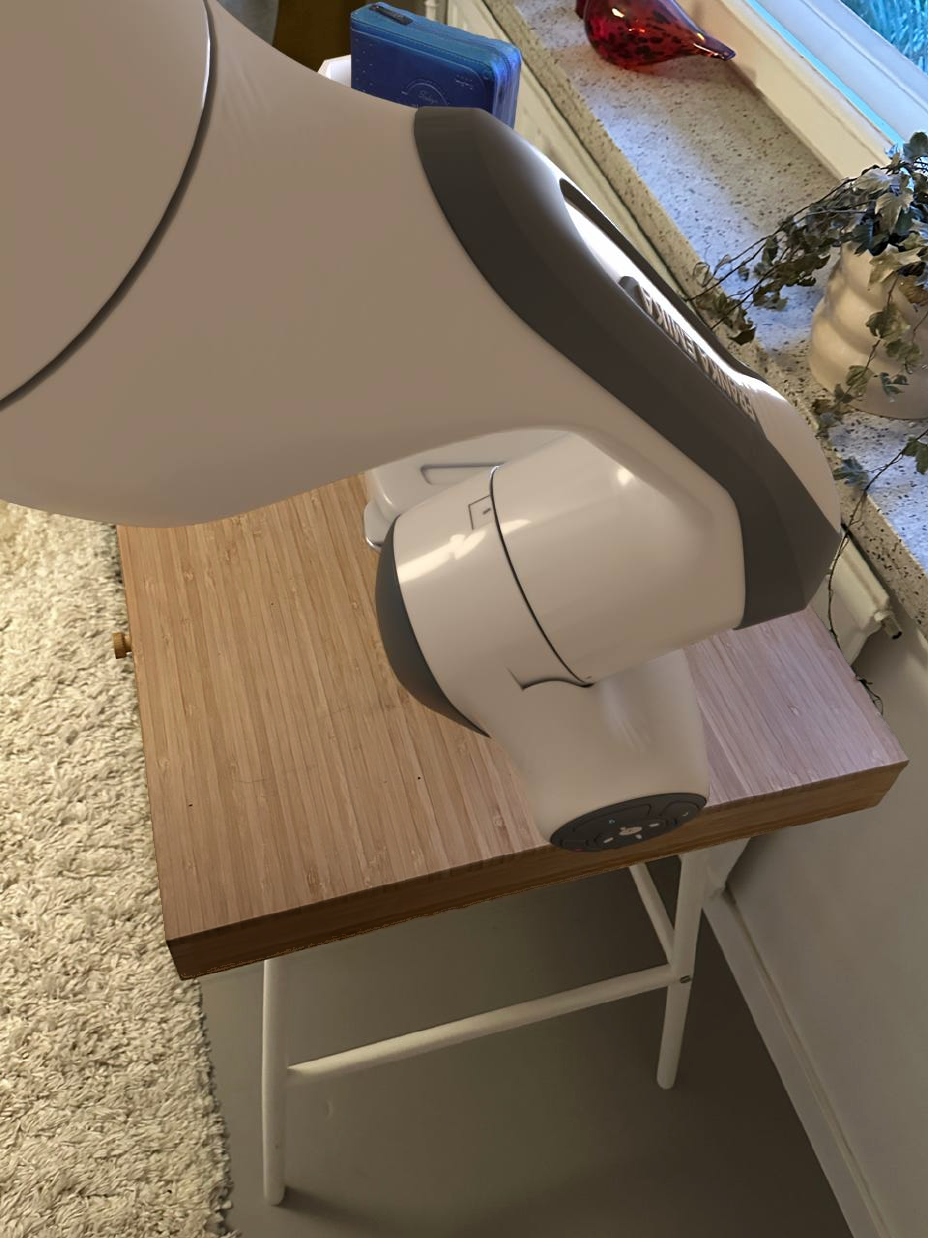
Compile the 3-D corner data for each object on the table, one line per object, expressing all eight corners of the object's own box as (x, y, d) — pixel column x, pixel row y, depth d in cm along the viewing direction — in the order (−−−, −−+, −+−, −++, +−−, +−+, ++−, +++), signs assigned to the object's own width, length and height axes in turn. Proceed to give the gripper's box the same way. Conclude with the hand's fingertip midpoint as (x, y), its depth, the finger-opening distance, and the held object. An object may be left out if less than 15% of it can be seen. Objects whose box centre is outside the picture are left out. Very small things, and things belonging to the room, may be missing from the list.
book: (340, 246, 93) (332, 9, 78) (372, 221, 96) (370, -13, 81) (475, 300, 90) (495, 62, 74) (504, 272, 93) (530, 38, 77)
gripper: (366, 602, 54) (352, 428, 63) (732, 584, 57) (673, 419, 65) (365, 520, 49) (350, 343, 58) (766, 505, 52) (697, 337, 60)
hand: (524, 383), depth 62 cm, fingers open, 8 cm apart
